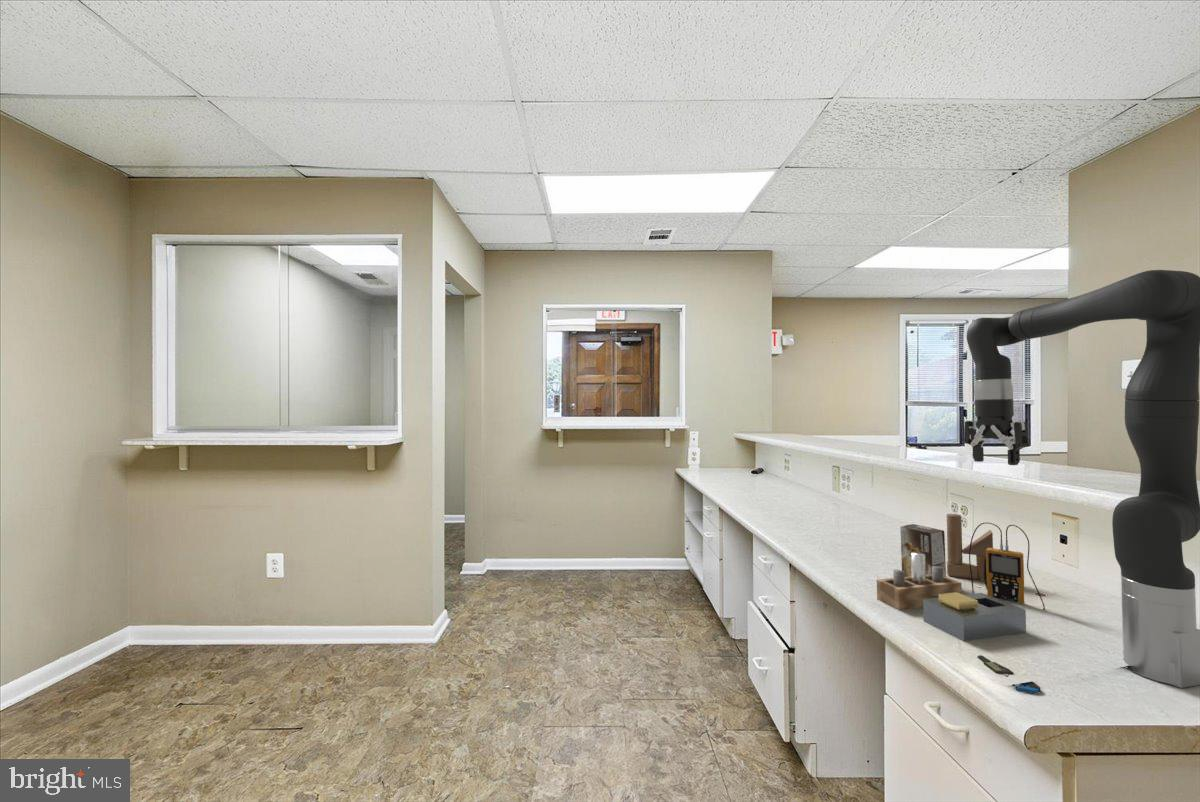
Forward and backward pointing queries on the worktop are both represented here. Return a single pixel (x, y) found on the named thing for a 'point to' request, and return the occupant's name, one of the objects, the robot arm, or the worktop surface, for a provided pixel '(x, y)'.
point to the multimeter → (1004, 572)
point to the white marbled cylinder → (918, 568)
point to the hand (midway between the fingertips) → (995, 463)
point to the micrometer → (1005, 671)
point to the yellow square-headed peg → (958, 601)
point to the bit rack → (914, 589)
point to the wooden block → (965, 550)
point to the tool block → (976, 618)
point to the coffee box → (922, 547)
